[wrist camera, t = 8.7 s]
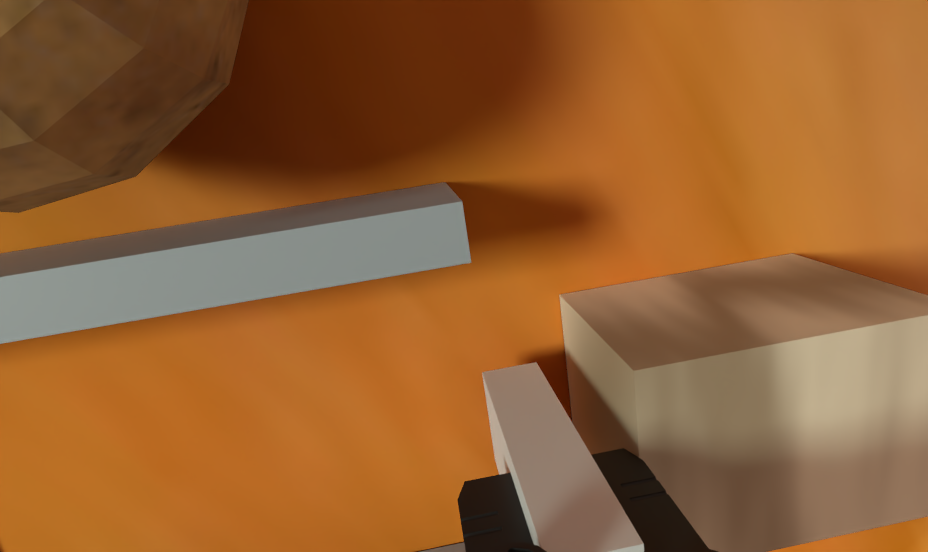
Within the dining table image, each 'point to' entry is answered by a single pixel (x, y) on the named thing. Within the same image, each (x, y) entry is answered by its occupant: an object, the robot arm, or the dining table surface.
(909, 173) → the dining table surface
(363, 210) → the u-shaped frame
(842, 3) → the dining table surface
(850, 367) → the block
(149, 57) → the potato
